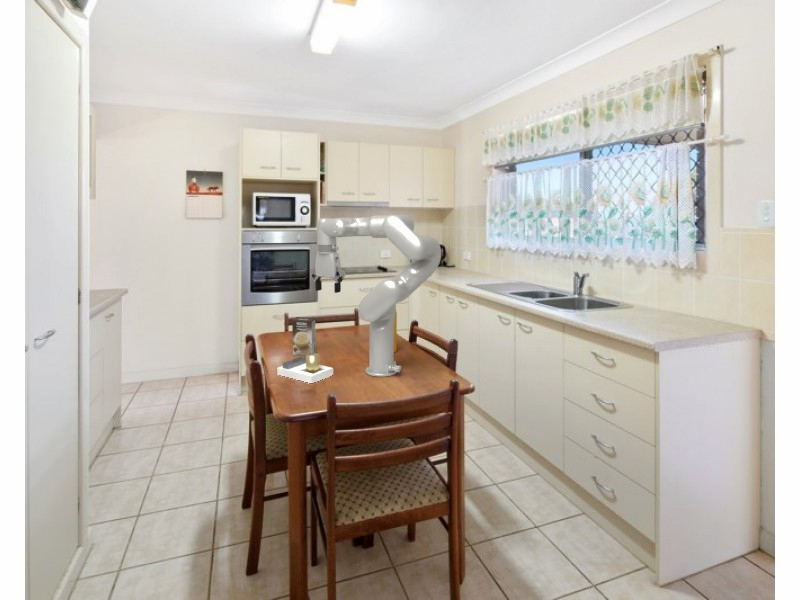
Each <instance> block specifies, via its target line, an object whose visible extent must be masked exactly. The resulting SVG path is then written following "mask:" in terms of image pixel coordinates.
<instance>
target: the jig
mask: <svg viewBox="0 0 800 600" xmlns="http://www.w3.org/2000/svg"><path fill="white" fill-rule="evenodd" d="M319 367H320V371H319V372H316V373H314V374H312V373H308V372H306V357H305V356H300V357H296V358H294V359H290V360H288V361H287V360H286V361H285V362H282V365H281V366H279V367H277V368H276V373H277V376H279V375H281V376H280V377H282V376H285V377H284V378H286V377H289V378H288V379H290V378H293V379H292V380H294V379H296V380H295V381H297V380H301V381H304V382H303V383H305V382H308V383H307V384H309V383H314V382H316V383H318V382H317V381H319V382H321V381H323V380H326V379H328V378H330V376H331V377H333V376H334V367H331V366H326V365H321V364H319ZM332 375H333V376H332ZM325 378H326V379H325ZM322 379H323V380H322ZM320 380H321V381H320ZM301 381H300V382H301ZM314 384H315V383H314Z"/></svg>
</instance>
